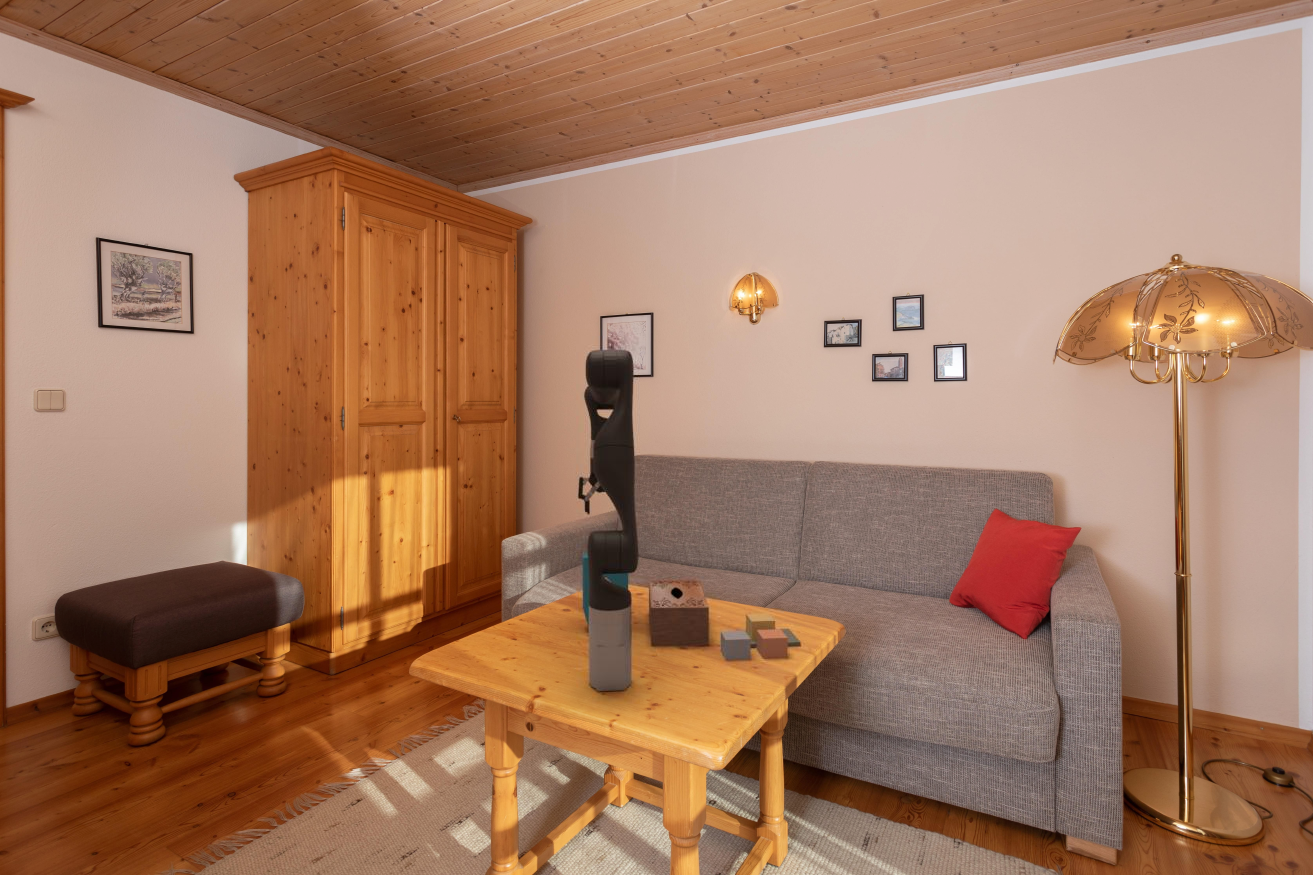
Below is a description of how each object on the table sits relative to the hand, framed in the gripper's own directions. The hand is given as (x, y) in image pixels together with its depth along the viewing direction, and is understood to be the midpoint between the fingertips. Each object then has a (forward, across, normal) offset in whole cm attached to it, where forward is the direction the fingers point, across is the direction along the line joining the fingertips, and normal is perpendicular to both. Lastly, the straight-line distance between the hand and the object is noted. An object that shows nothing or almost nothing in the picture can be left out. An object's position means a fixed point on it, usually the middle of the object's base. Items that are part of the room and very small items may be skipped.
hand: (603, 513), depth 191 cm
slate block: (+30, +31, -32) cm, 53 cm away
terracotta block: (+30, +40, -32) cm, 59 cm away
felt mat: (+29, +41, -23) cm, 55 cm away
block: (+30, 0, -11) cm, 31 cm away
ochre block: (+28, +39, -23) cm, 53 cm away
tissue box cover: (+30, +19, -12) cm, 37 cm away
